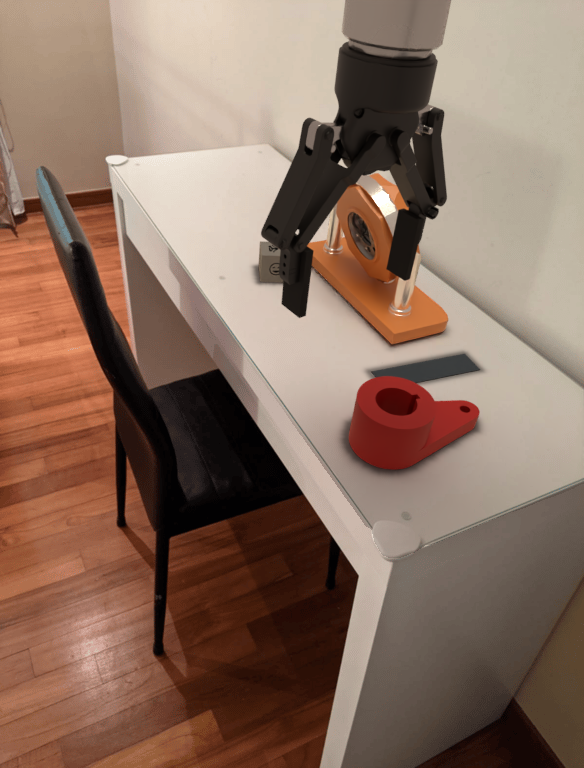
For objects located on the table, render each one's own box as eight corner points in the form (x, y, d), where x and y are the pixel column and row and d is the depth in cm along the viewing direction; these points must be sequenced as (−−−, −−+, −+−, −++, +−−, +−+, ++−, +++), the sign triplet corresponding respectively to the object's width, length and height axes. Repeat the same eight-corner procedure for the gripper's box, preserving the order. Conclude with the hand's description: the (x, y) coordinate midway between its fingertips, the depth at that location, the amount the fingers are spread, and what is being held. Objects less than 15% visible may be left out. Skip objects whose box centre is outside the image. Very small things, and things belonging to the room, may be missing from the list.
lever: (371, 477, 71) (381, 437, 67) (335, 424, 78) (343, 384, 73) (494, 442, 78) (510, 403, 73) (452, 396, 84) (464, 358, 80)
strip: (480, 369, 89) (480, 369, 89) (384, 389, 84) (384, 388, 84) (464, 354, 92) (464, 353, 92) (371, 371, 87) (371, 371, 87)
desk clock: (388, 347, 92) (417, 222, 79) (296, 256, 112) (308, 144, 99) (452, 332, 97) (489, 211, 84) (353, 247, 117) (371, 139, 104)
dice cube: (258, 267, 107) (259, 241, 104) (286, 268, 108) (288, 242, 105) (260, 282, 103) (262, 255, 100) (289, 282, 104) (292, 256, 101)
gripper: (459, 29, 54) (410, 246, 68) (221, 42, 42) (218, 307, 55) (529, 48, 50) (461, 276, 63) (287, 69, 37) (266, 349, 51)
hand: (348, 291), depth 59 cm, fingers open, 13 cm apart
